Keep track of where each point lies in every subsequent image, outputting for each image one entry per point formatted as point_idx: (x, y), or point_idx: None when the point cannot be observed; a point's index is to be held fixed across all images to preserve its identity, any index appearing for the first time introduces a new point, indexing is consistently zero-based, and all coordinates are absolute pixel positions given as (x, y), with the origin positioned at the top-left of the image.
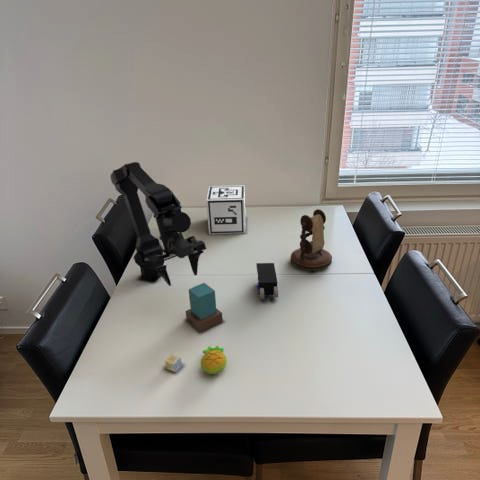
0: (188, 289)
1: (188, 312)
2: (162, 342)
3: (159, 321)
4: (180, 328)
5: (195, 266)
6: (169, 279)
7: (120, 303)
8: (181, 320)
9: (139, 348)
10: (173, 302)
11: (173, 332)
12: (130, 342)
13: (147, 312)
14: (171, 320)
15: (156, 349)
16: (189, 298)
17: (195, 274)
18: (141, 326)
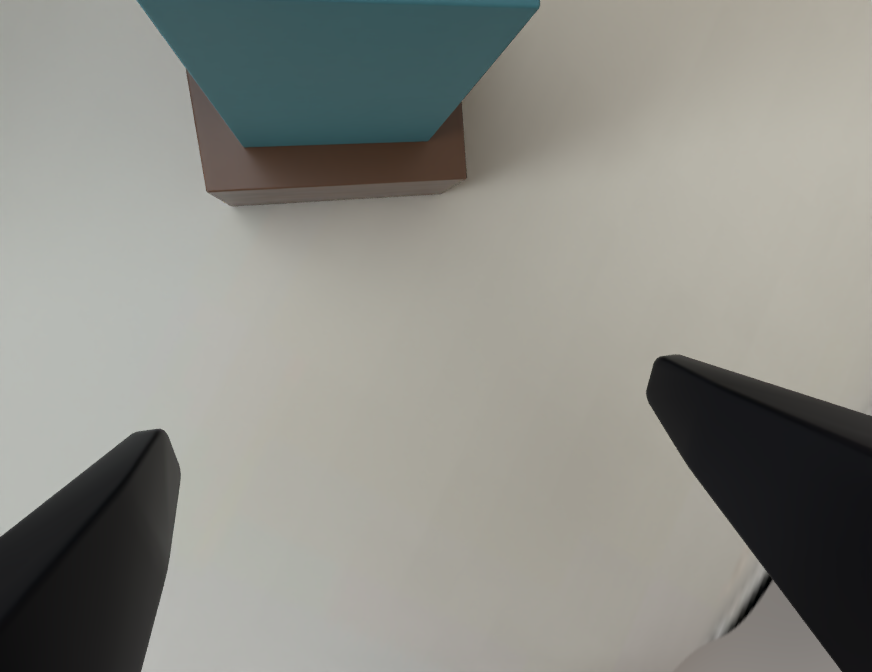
0: (539, 5)
1: (454, 140)
2: (674, 77)
3: (592, 298)
4: (519, 133)
5: (23, 578)
6: (755, 400)
7: (683, 596)
8: (472, 215)
9: (789, 122)
10: (421, 451)
11: (576, 125)
12: (797, 209)
13: (607, 432)
14: (527, 260)
15: (729, 39)
16: (474, 84)
17: (162, 443)
18: (693, 315)
